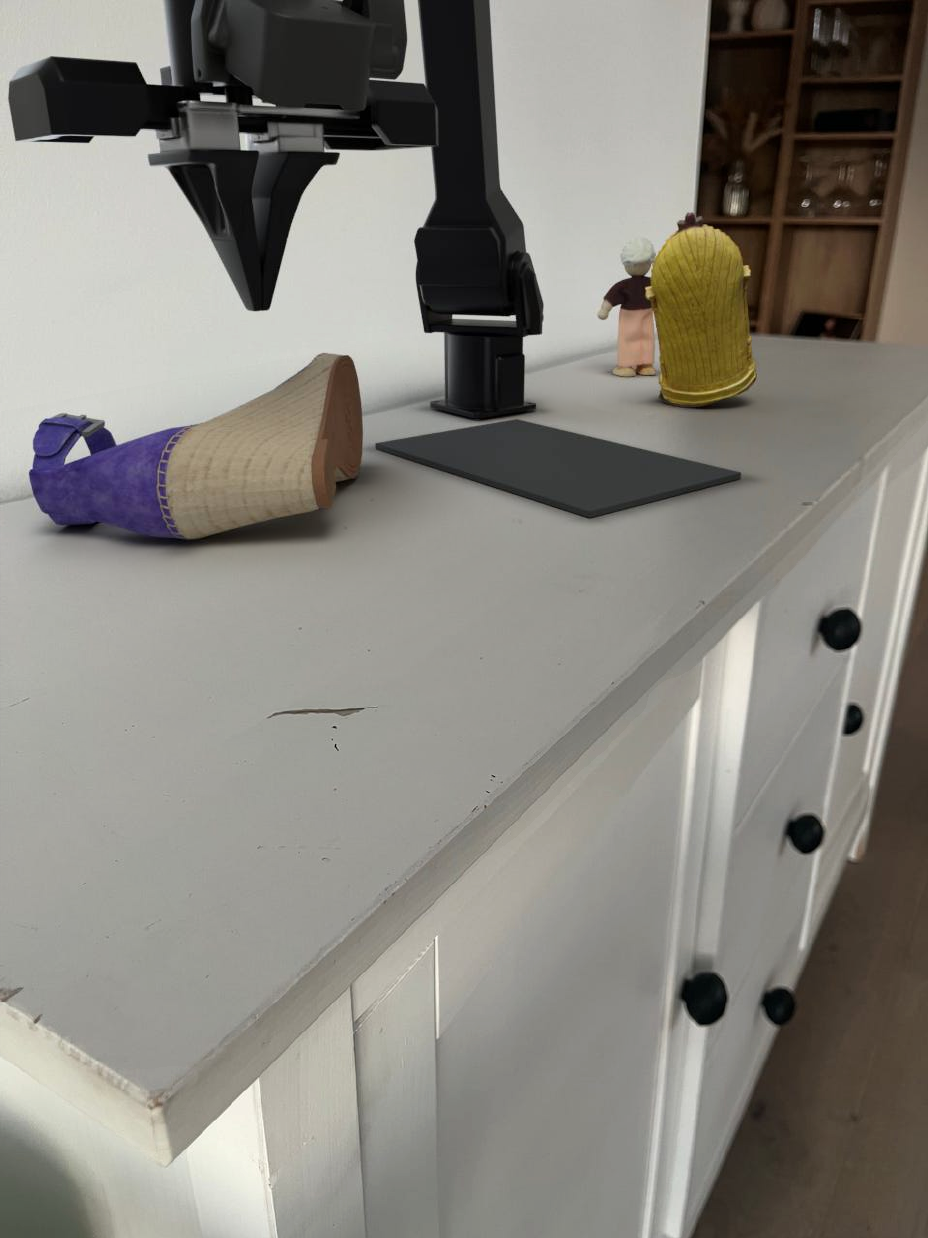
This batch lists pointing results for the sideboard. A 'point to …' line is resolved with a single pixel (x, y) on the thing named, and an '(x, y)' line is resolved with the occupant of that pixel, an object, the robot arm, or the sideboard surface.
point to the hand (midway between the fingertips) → (257, 310)
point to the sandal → (210, 461)
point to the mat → (559, 466)
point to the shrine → (701, 316)
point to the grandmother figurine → (633, 311)
